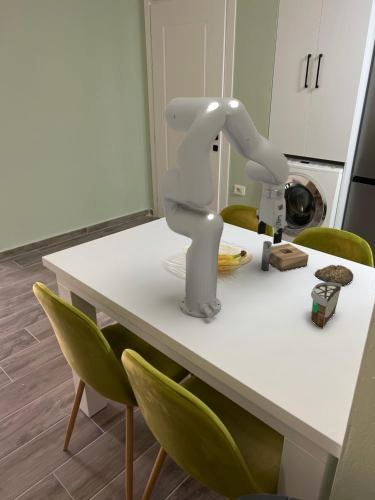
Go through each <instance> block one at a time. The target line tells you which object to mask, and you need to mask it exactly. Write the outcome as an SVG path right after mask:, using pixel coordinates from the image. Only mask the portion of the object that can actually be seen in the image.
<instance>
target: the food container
mask: <svg viewBox="0 0 375 500" xmlns="http://www.w3.org/2000/svg"><path fill="white" fill-rule="evenodd" d="M341 290H342V286H341V284H338V283H332V282H326V281H324V282H320V283H317V284H316V285H315V286H314V287H313V288H312V290H311V293H310V297H311V299H312V305H311V306H312V307H311V317H310V318H311V322H312V323H313V322H314V323H315V324H316V325H315V324H314V323H313V324H314V325H315V326H317V327H319V328H320V327H321V329H324V328H325V327H326V325H327V324H328V323H329V322H330V321H329V319H330V318H331V317H332V316H333V314H335V313H336V309H337V306H338V302H339V296H340V293H341ZM333 317H334V316H333ZM333 317H332V318H333ZM332 318H331V319H332ZM331 319H330V320H331ZM328 321H329V322H328ZM327 322H328V323H327ZM324 326H325V327H324ZM323 327H324V328H323Z"/></svg>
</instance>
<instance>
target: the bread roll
mask: <svg viewBox="0 0 375 500" xmlns="http://www.w3.org/2000/svg"><path fill="white" fill-rule="evenodd" d="M314 275H316V276H317V277H316V276H315V277H316V278H318V277H319V278H318V279H320V280H322V281H324V282H326V281H328V282H332V283H338V284H341V285H345V286H347V285H346V284H348V283H350V282H351V281H352V282H353V280H352V279H354V277H355V276H354V274H353V272H352V270H351V269H350V268H348V267H346V266H343V265H342V264H340V265H339V264H338V265H337V264H336V265H335V264H329V265H327V266H325V267H323V268H318V269H316V270H315V272H314ZM352 282H351V283H352ZM351 283H350V284H351ZM348 285H349V284H348Z"/></svg>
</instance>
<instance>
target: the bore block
mask: <svg viewBox="0 0 375 500" xmlns="http://www.w3.org/2000/svg"><path fill="white" fill-rule="evenodd" d="M308 260H309V253H306V252H304V251H303V250H302V249H299V248H297V247H296V246H294V245H292V244H290V243H284V244H279V245H278V244H276V245H272V246H271V255H270V264H269V266H272V267H274V268H275V269H276V270H278V271H279V272H281V273H282V272H288V271H293V270H297V269H296V268H298V269H302V268H301V267H303V268H306V267H305V266H307V267H308V262H309V261H308ZM292 269H293V270H292ZM287 270H288V271H287Z"/></svg>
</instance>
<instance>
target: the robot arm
mask: <svg viewBox="0 0 375 500" xmlns="http://www.w3.org/2000/svg"><path fill="white" fill-rule="evenodd" d="M164 119H165V122H166V124H167V126H168V127H169V128H170V129H171V130H172V131H175V132H177V133H185V134H184V136H183V138H182V139H181V141H180V143H179V145H178V147H177V150H176V158H175V159H176V163H177V164H176V165H177V166H176V167H175V166H174V167H170V168H168V169H166V170H165V171H164V172H163V174H162V176H161V179H160V181H159V194H160V195H159V196H160V200H161V204H162V209H163V214H164V219H165V221H166V224H167V226H168V229H170V230H171V231H172V232H173V233H175V234H178V235H180V236H184V237H186V238H188V239H190V240H191V244H190V245H189V247H188V248H187V249H186V252H185V286H184V287H185V288H184V289H185V295H184V297H183V298H181V300H180V303H179V307H180V309H181V311H183V313H185V314H186V315H188V316H192V317H195V318H209V319H210V318H213V316H215V315H216V314H218V313H219V312H220V310H221V307H222V303H221V301H220V299H219V298H218V297H217V294H218V293H217V291H218V289H217V288H218V271H219V268H218V267H219V252H220V251H219V250H220V244H221V239H222V236H223V231H224V225H225V224H224V219H223V217H222V216H221V214H220V213H218V212H217V211H215V210H213V209H211V208H207V207H208V206H209V205H211V204H212V202H213V200H214V194H215V193H214V191H215V189H214V181H213V173H212V166H211V151H212V147H213V144H214V143H215V140H216V138H217V137H218V135H219V133H220V132H221V133H222V134H223V137H225V139H226V141H227V142H228V144H229V145H230V147H231V148H232V150H233V151H234V152H235V154H237V155H239V156H241V157H243V158H244V159H246V160H249V161H247V162H246V164H245V166H244V169H243V172H244V175H245V177H246V178H247V179H248V180H249V181H252V182H256V183H262V191H261V197H260V202H259V208H258V209H256V210H255V213H256V219H257V221H256V223H257V235H263V234H266V232H267V231H266V230H267V225H268V226H270V227H272V228H273V229H274V233H273V239H272V244H273V245H278V244H281V243H282V240H283V234H285V233H284V232H286V229H287V227H288V223H287V221H286V212H287V211H286V209H287V208H286V205H287V204H286V198H285V192H286V183H287V182H288V180H289V177H290V166H289V161H288V158H287V157H286V156H285V154H284V153H283V151H282V150H281V149H280V148H279V147H277V145H275V144H274V143H272V142H271V141H270V140H269V139H267V138H266V137H265V136H263V135H261V134H260V133H259V132H258V131H259V130H257V128H256V126H255V124H254V122H253V120H252V119H251V116H250V114H249V112H248V111H247V109H246V107H245V105H244V104H243V102H241V100H239V98H234V97H229V96H228V97H223V96H222V97H221V96H219V97H218V96H217V97H216V96H207V97H206V96H204V97H203V96H202V97H185V96H184V97H182V96H181V97H179V96H178V97H175V98H172V99H171V100H170V101H169V102H168V103H167V105H166V107H165V111H164ZM278 228H279V229H278Z"/></svg>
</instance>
